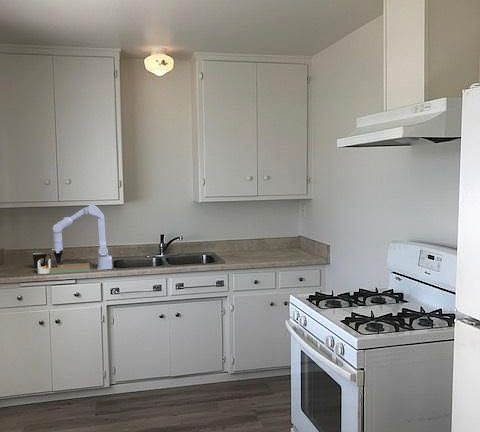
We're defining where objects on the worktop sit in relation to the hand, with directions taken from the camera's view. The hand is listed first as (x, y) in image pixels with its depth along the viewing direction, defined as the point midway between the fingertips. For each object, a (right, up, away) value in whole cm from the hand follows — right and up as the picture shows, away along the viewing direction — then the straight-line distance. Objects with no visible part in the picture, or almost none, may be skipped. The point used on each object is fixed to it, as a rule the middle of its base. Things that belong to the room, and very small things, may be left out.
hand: (58, 262), depth 333 cm
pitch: (+3, -6, +1) cm, 7 cm away
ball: (-8, -4, -2) cm, 9 cm away
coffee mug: (-17, -5, +16) cm, 24 cm away
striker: (+1, -4, +1) cm, 4 cm away
